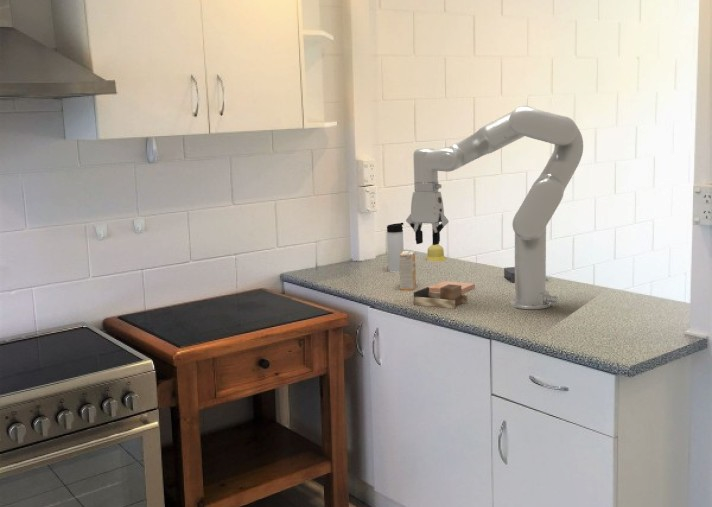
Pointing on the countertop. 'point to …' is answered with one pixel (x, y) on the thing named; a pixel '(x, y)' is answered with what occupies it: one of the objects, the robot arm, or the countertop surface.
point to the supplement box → (407, 270)
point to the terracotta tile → (464, 286)
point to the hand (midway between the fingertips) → (427, 243)
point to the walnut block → (452, 293)
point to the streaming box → (509, 274)
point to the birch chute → (434, 299)
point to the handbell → (435, 252)
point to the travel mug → (394, 245)
